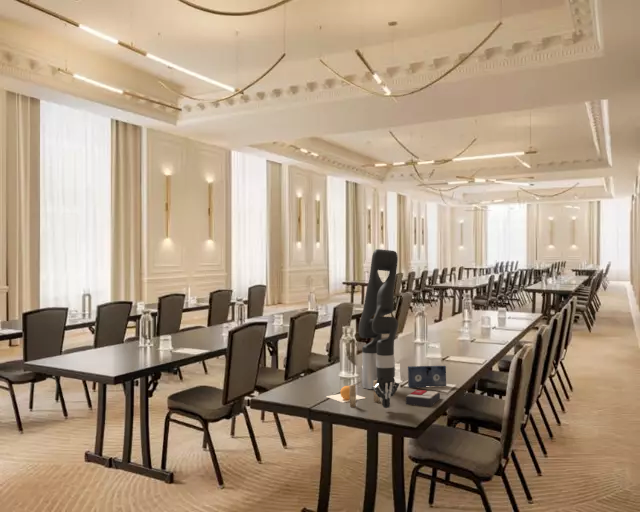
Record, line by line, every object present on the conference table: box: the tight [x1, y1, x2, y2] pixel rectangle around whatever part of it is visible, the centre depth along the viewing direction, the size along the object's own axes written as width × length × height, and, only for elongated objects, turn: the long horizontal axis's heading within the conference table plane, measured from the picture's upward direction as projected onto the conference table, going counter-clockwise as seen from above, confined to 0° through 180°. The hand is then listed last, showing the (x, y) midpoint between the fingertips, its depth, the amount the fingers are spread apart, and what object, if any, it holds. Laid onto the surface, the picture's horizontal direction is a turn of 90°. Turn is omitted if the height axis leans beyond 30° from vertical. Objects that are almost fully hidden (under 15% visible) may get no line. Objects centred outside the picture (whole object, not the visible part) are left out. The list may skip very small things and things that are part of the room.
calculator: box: [405, 389, 441, 408], centre depth 246 cm, size 11×4×15 cm
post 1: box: [349, 384, 357, 408], centre depth 240 cm, size 3×3×9 cm
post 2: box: [373, 380, 381, 403], centre depth 247 cm, size 3×3×9 cm
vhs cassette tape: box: [407, 365, 447, 389], centre depth 274 cm, size 18×3×10 cm, turn 92°
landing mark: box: [325, 393, 366, 404], centre depth 255 cm, size 13×13×1 cm
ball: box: [339, 385, 350, 400], centre depth 252 cm, size 6×6×6 cm
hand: (386, 407), depth 232 cm, fingers closed
